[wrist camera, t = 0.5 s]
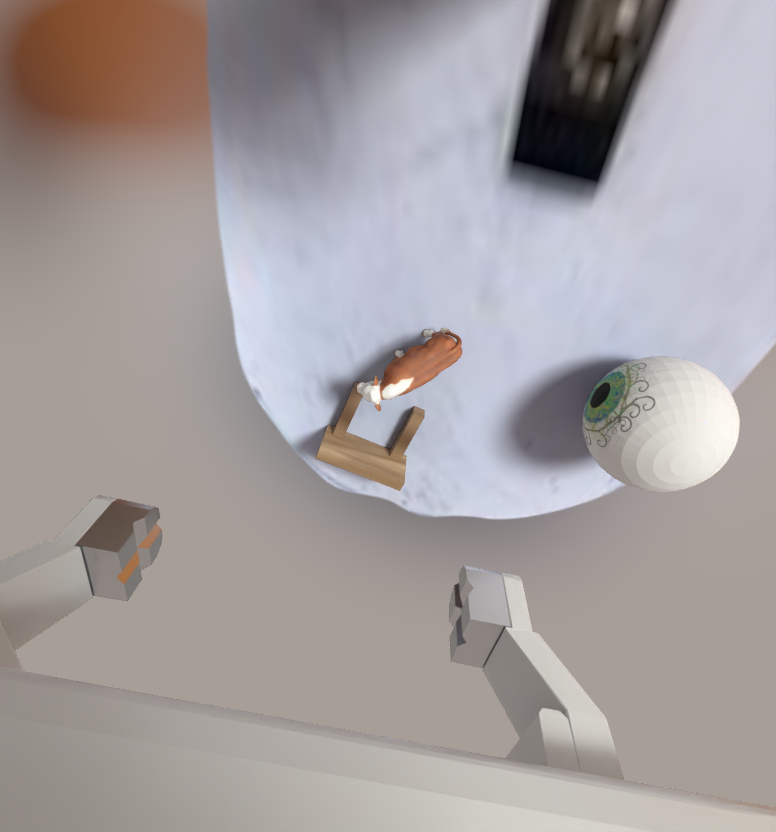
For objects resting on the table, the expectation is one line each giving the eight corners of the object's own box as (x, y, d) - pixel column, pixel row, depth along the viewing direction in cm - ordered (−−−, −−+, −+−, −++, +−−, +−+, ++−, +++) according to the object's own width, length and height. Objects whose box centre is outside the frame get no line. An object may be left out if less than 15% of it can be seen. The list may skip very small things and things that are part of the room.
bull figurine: (358, 362, 59) (348, 393, 52) (452, 311, 54) (456, 337, 47) (376, 388, 60) (369, 422, 53) (469, 342, 56) (474, 371, 49)
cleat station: (348, 378, 60) (340, 401, 55) (431, 413, 62) (431, 438, 56) (324, 432, 65) (315, 458, 60) (402, 463, 66) (399, 490, 61)
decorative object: (638, 310, 52) (705, 367, 39) (723, 381, 56) (809, 454, 43) (543, 401, 59) (573, 474, 47) (623, 459, 63) (672, 541, 50)
